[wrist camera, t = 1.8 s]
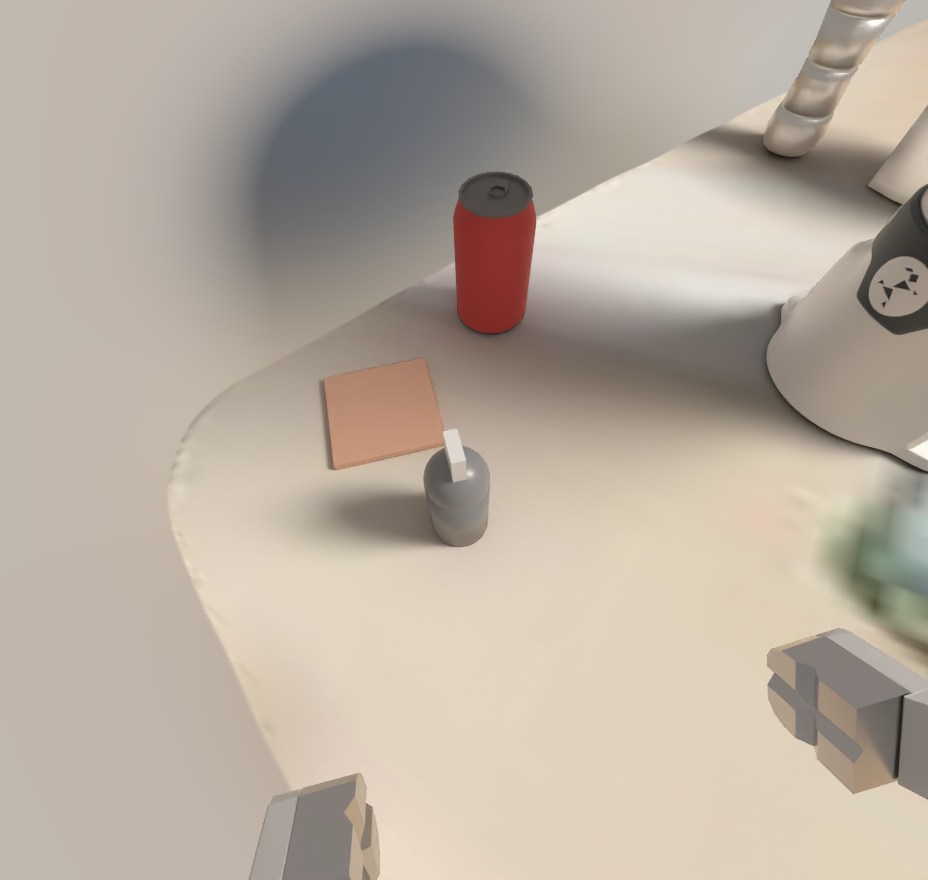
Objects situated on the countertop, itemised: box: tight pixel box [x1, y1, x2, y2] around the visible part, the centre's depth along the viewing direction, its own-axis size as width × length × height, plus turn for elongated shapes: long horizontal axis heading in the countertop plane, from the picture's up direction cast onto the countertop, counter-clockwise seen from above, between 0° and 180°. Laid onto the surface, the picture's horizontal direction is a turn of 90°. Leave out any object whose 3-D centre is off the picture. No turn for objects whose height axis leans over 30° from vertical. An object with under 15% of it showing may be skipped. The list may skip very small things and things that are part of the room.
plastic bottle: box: [764, 0, 905, 157], centre depth 49 cm, size 6×7×20 cm
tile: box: [324, 358, 444, 470], centre depth 38 cm, size 9×9×1 cm
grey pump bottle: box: [424, 428, 490, 547], centre depth 28 cm, size 4×4×11 cm
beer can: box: [453, 172, 536, 334], centre depth 39 cm, size 7×7×12 cm
